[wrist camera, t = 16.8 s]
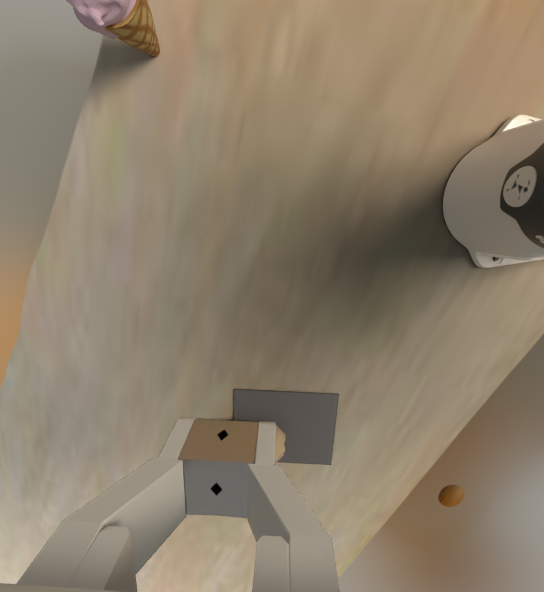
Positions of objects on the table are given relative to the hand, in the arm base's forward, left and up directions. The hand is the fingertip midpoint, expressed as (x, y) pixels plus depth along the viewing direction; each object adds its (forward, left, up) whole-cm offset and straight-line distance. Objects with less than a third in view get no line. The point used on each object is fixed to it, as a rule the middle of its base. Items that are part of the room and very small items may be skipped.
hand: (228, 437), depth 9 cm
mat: (-3, +28, -34) cm, 44 cm away
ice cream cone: (+15, -25, -34) cm, 45 cm away
